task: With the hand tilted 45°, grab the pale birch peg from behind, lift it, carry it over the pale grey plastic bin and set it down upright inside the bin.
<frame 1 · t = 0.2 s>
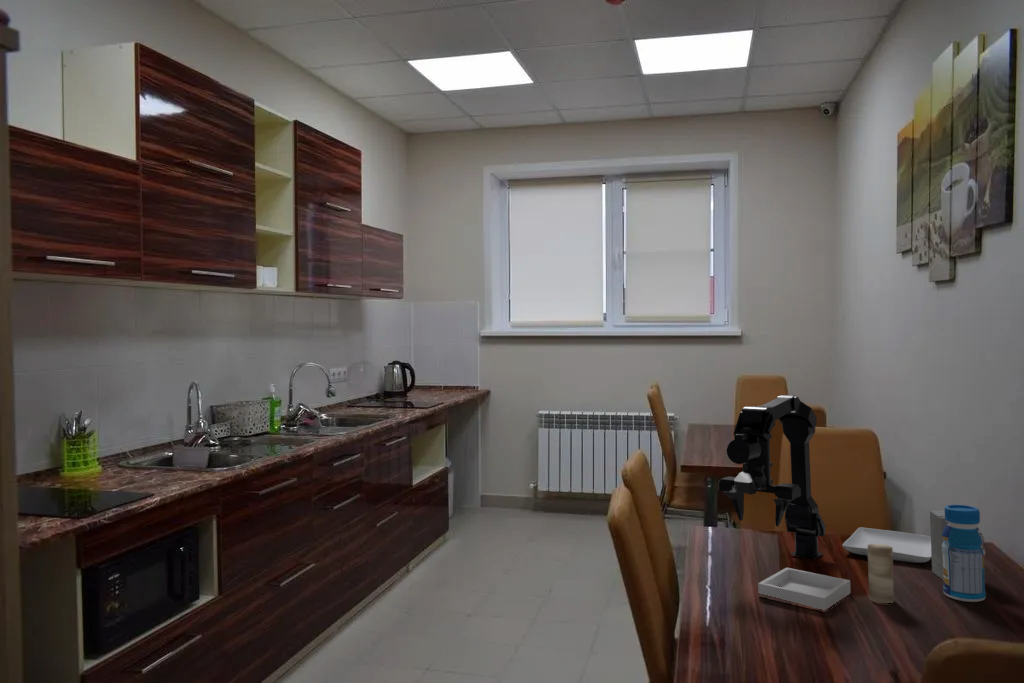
hand: (759, 523, 177), 15 cm above the table, tool pointing down, fingers open, 9 cm apart
beverage bottle: (964, 597, 164), on the table
birch peg: (881, 600, 164), on the table
skincare box: (954, 578, 177), on the table
salad plate: (892, 553, 199), on the table
grey bin: (804, 595, 168), on the table
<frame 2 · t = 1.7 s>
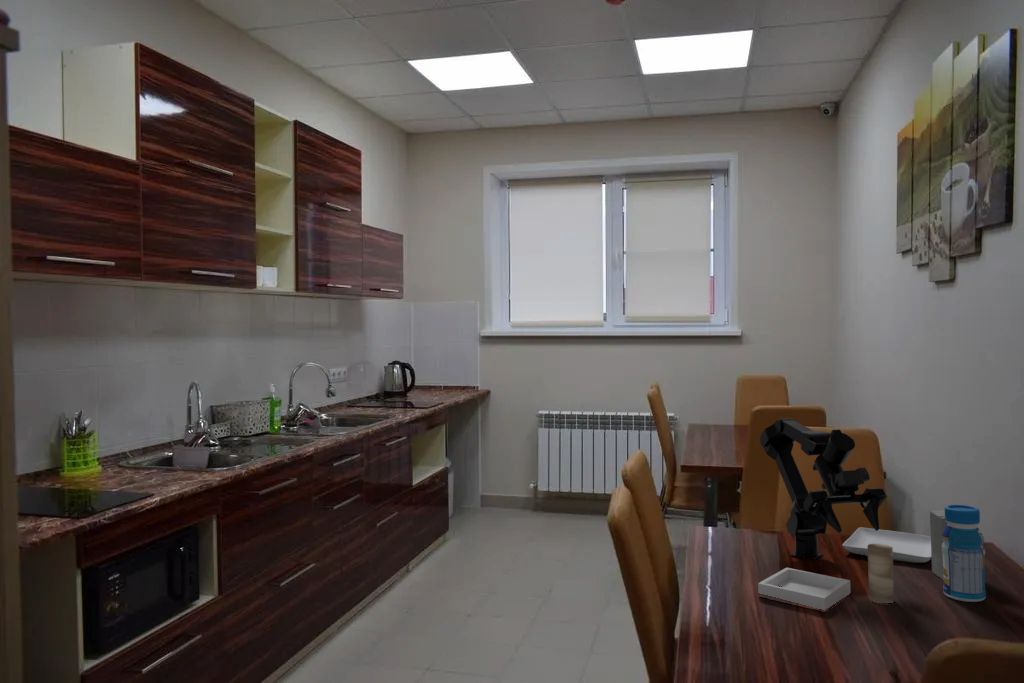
hand: (859, 530, 172), 13 cm above the table, tool tilted 45°, fingers open, 9 cm apart
nothing on the table moved.
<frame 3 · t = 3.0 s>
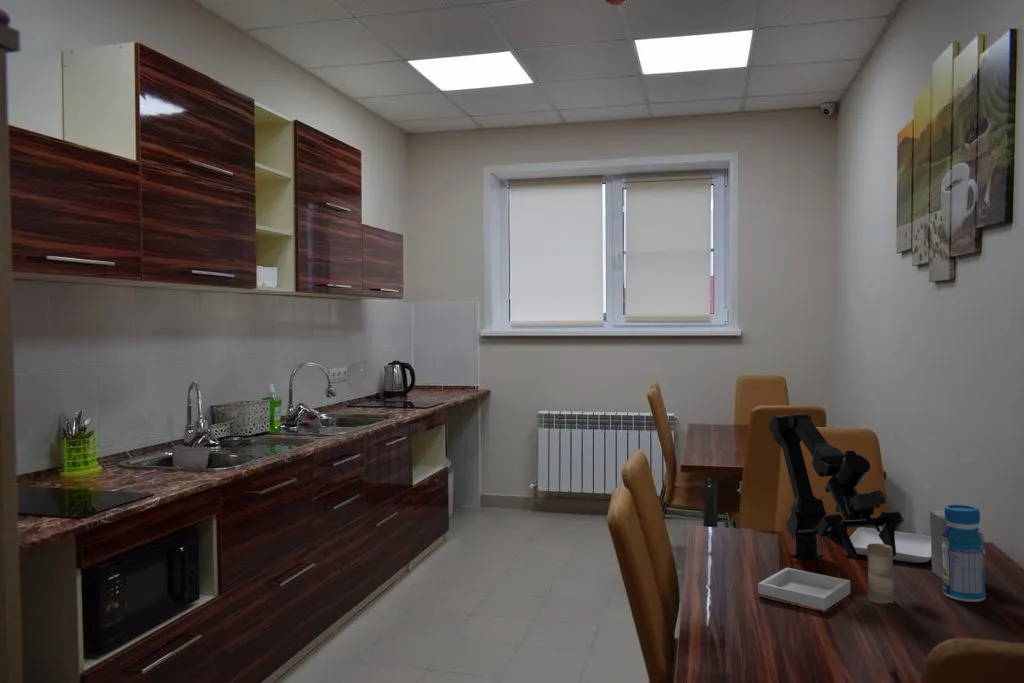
hand: (875, 556, 165), 9 cm above the table, tool tilted 45°, fingers open, 9 cm apart
nothing on the table moved.
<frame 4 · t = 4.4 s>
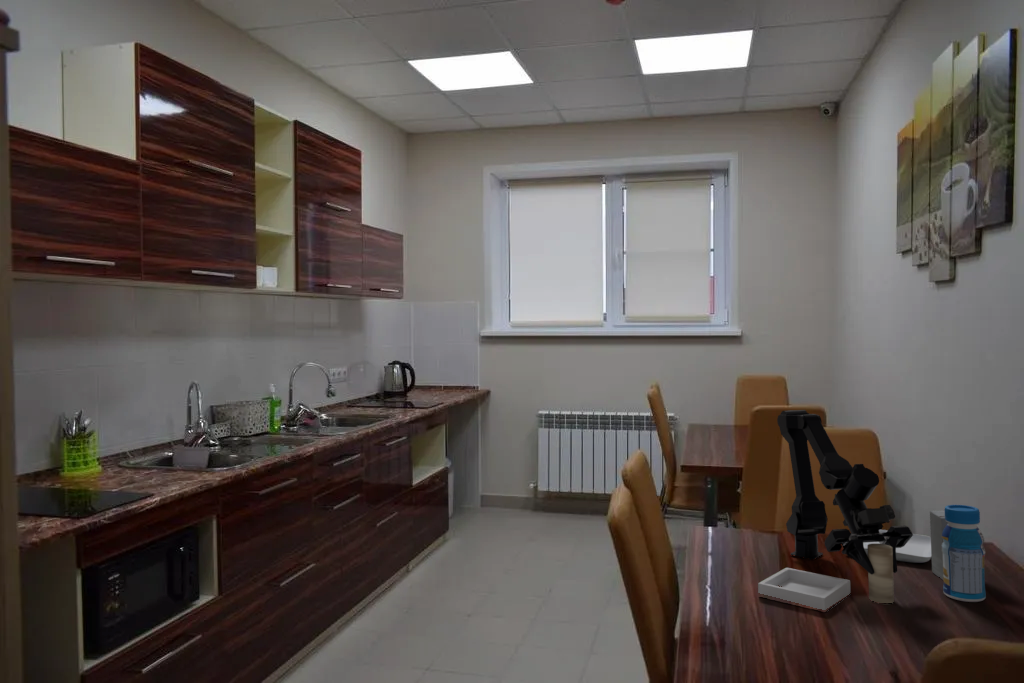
hand: (884, 572, 162), 7 cm above the table, tool tilted 45°, fingers closed on birch peg, 5 cm apart
birch peg: (881, 600, 164), on the table, touching gripper
everything else where it was.
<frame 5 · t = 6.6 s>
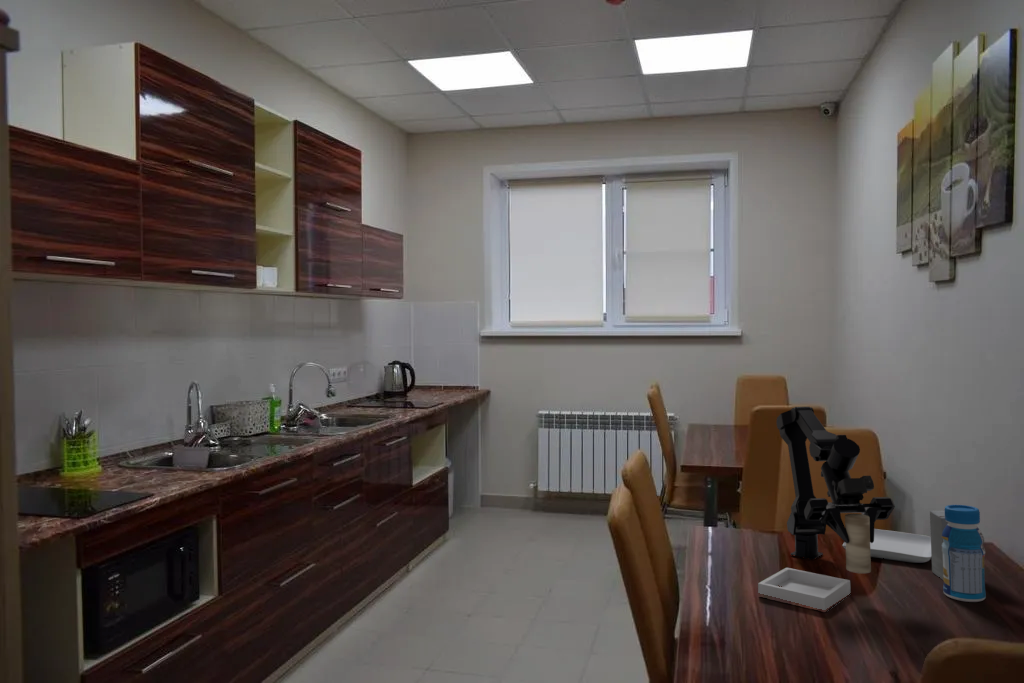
hand: (860, 542, 163), 13 cm above the table, tool tilted 45°, fingers closed on birch peg, 5 cm apart
birch peg: (858, 569, 164), point 7 cm above the table, touching gripper
everything else where it was.
when the fingers open (9 cm above the table, at t = 8.9 s): birch peg drops 1 cm, resting on grey bin.
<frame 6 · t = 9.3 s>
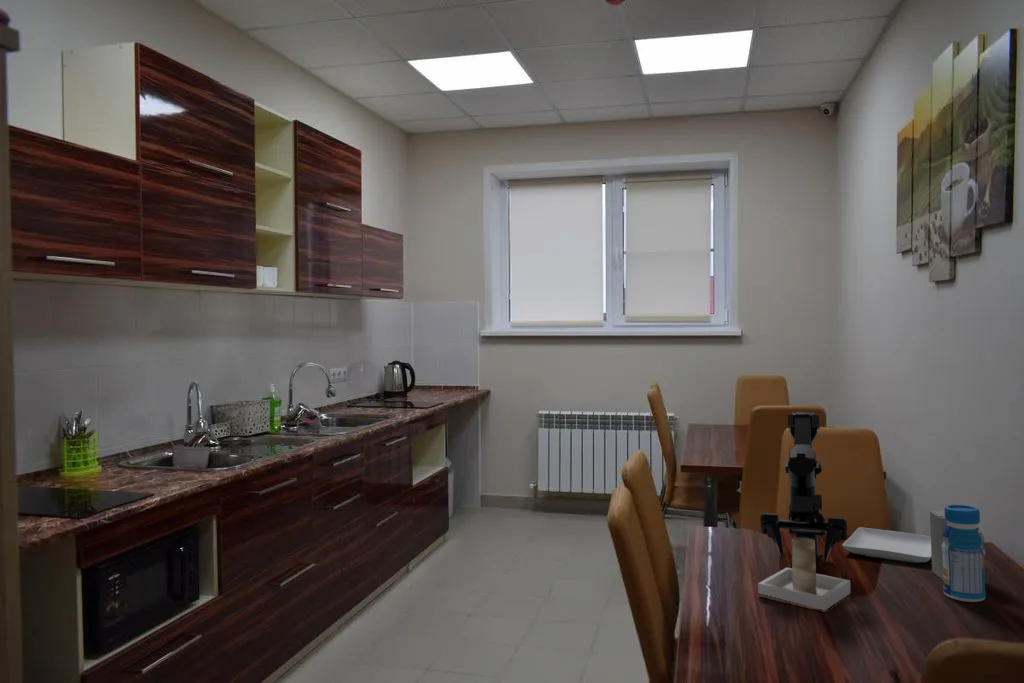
hand: (803, 559, 166), 9 cm above the table, tool tilted 45°, fingers open, 9 cm apart
birch peg: (804, 592, 168), point 1 cm above the table, touching grey bin
everything else where it was.
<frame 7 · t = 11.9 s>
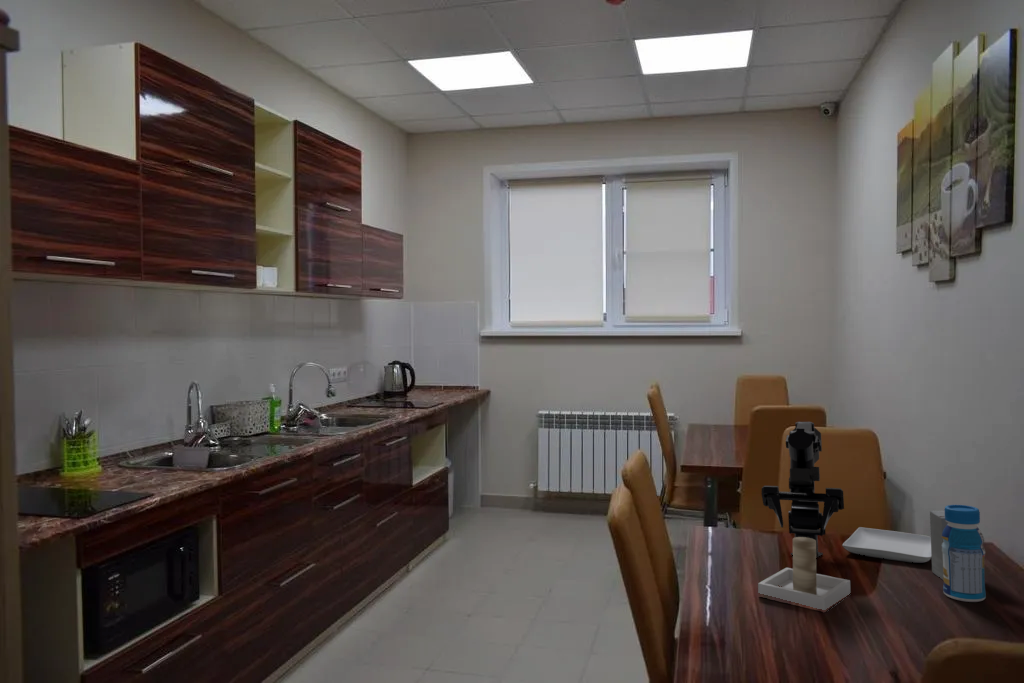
hand: (802, 527, 175), 14 cm above the table, tool tilted 45°, fingers open, 9 cm apart
nothing on the table moved.
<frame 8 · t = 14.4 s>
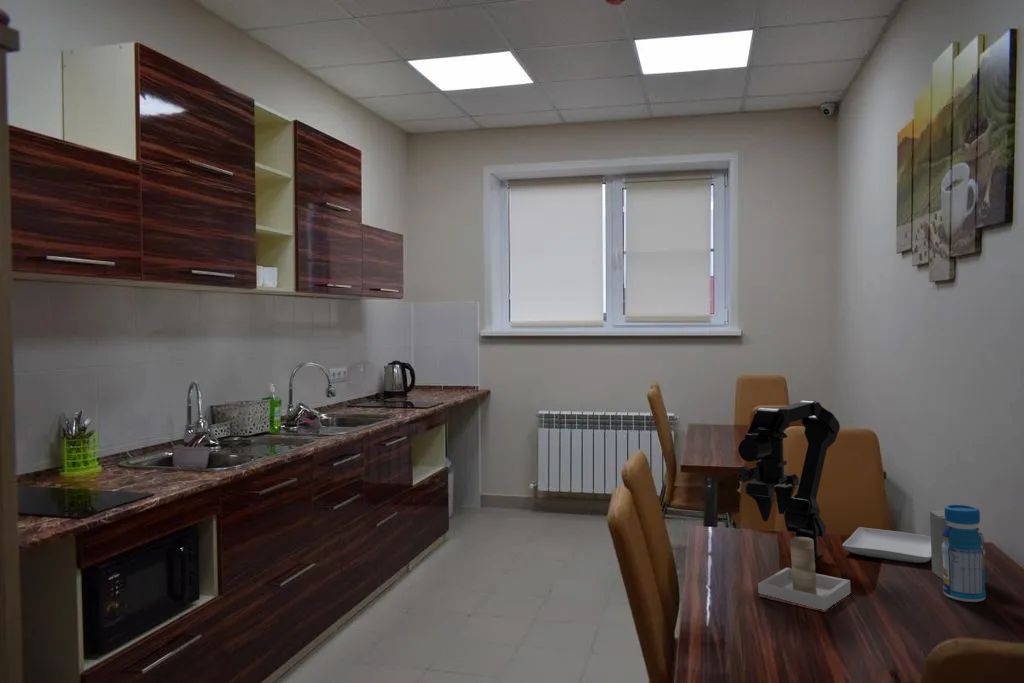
hand: (773, 517, 188), 13 cm above the table, tool pointing down, fingers open, 9 cm apart
nothing on the table moved.
at the end: birch peg inside the target area on the grey bin (0.1 cm from its centre), point 0.9 cm above the grey bin's base; birch peg tilted 2°; the gripper is holding nothing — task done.
